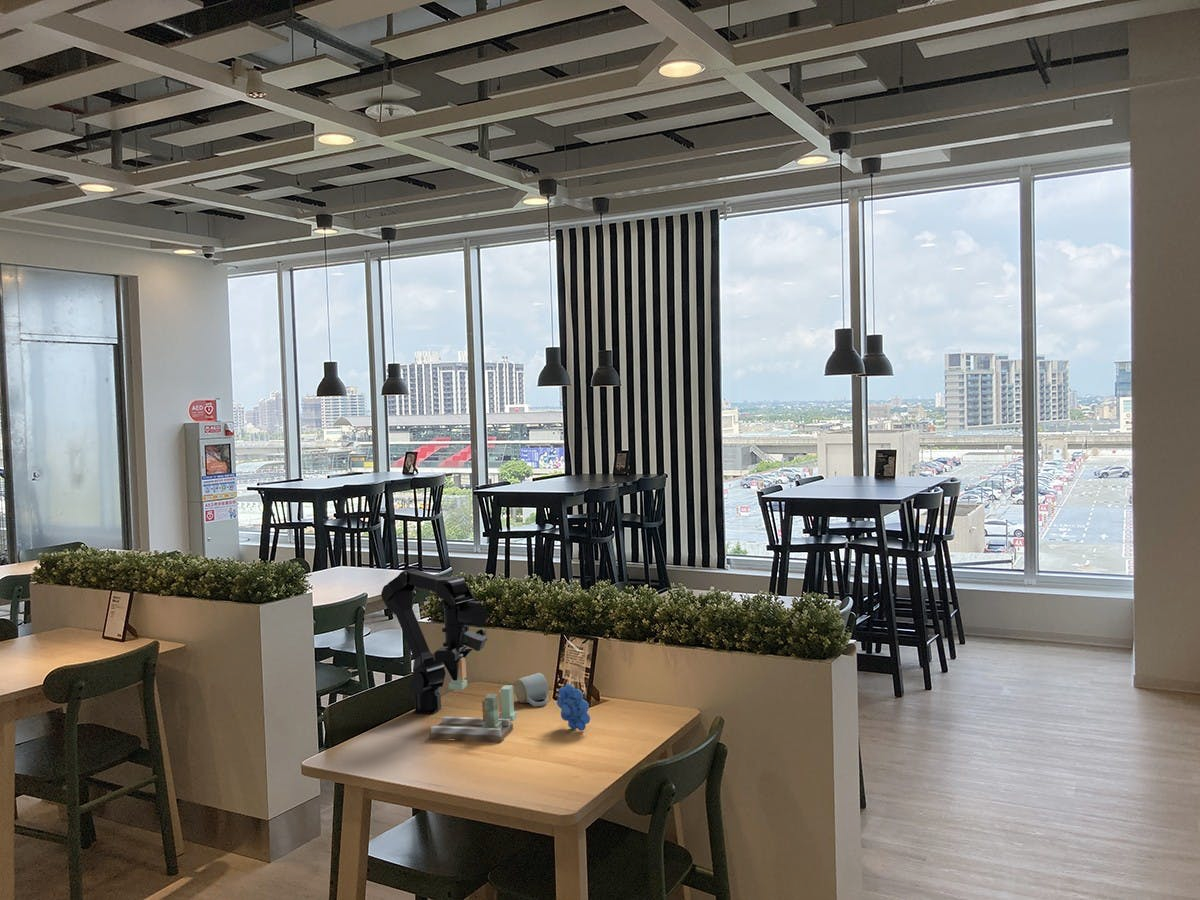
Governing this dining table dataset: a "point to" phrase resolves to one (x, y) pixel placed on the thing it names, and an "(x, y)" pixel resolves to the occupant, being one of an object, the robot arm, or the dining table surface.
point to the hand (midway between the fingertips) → (457, 678)
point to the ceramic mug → (532, 689)
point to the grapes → (573, 707)
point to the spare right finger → (506, 703)
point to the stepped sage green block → (460, 676)
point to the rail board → (475, 725)
